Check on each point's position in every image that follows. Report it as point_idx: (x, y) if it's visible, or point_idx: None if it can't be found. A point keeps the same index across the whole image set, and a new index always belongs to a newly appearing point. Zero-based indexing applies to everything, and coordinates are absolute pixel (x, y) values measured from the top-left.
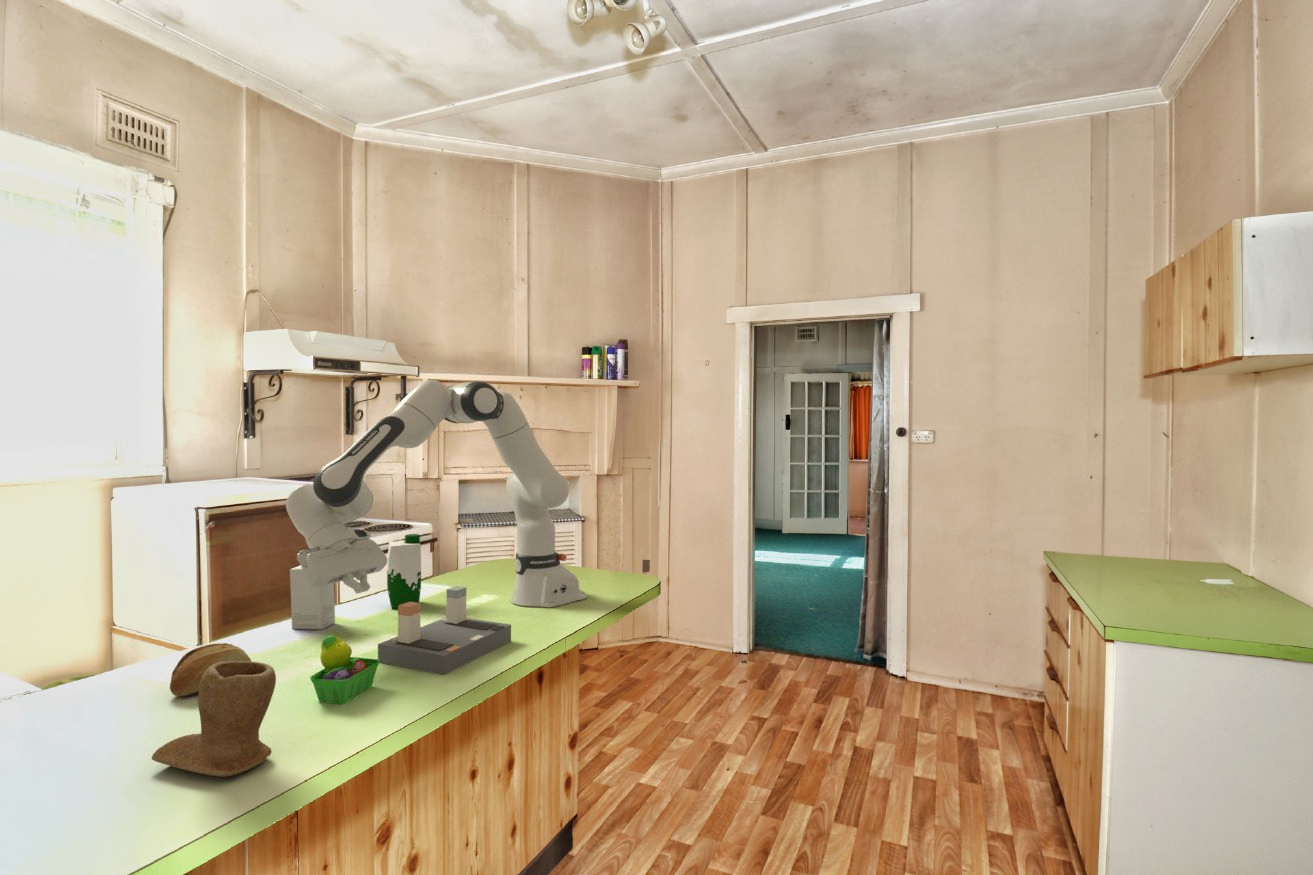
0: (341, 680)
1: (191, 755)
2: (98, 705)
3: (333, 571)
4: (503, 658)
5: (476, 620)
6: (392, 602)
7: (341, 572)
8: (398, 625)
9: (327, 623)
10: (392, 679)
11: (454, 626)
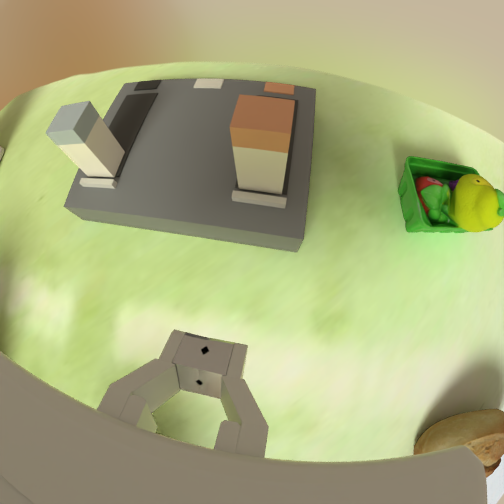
0: (477, 174)
1: None
2: (492, 474)
3: (394, 486)
4: (216, 76)
5: None
6: None
7: (331, 470)
8: (284, 171)
9: None
10: (361, 173)
11: (135, 151)
